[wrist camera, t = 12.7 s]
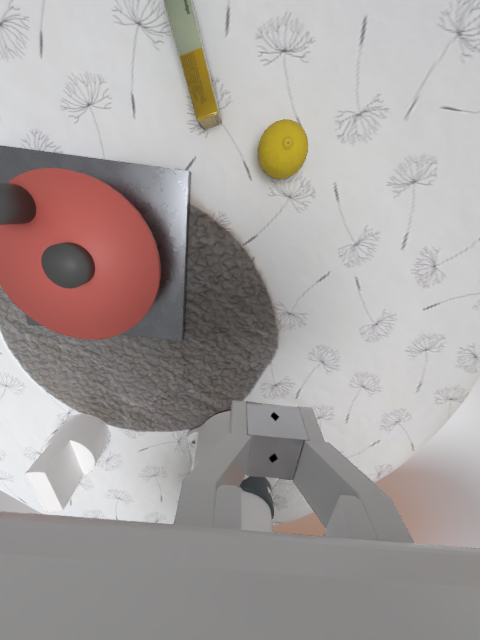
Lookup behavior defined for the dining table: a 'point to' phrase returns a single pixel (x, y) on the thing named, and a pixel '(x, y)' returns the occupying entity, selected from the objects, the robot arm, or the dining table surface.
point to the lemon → (283, 149)
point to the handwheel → (76, 254)
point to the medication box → (194, 61)
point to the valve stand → (154, 206)
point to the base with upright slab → (67, 460)
